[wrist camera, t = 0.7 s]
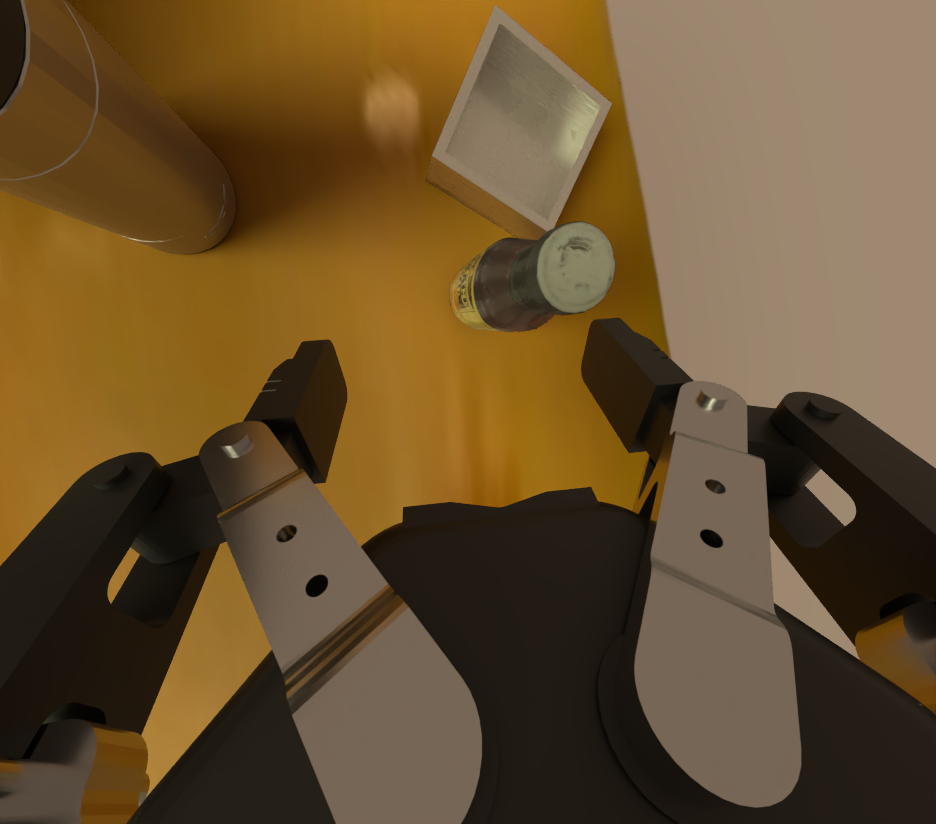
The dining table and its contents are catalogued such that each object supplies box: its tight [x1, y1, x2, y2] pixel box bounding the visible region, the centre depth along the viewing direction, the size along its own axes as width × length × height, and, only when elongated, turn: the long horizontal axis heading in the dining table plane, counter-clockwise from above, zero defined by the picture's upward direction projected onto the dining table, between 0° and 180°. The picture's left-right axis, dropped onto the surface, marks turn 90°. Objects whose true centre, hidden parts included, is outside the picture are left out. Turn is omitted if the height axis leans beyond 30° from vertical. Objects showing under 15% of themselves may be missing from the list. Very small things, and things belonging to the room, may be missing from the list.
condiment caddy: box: [426, 5, 612, 240], centre depth 30 cm, size 12×12×4 cm
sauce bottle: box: [450, 222, 615, 332], centre depth 25 cm, size 7×6×20 cm
